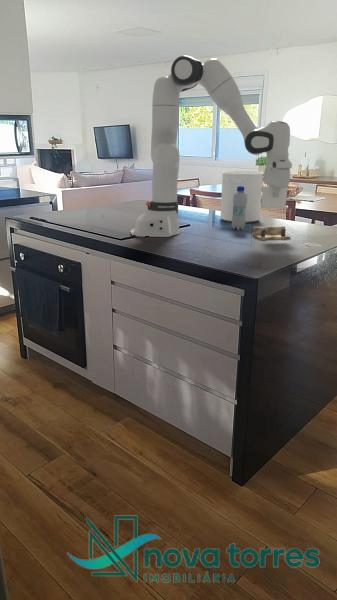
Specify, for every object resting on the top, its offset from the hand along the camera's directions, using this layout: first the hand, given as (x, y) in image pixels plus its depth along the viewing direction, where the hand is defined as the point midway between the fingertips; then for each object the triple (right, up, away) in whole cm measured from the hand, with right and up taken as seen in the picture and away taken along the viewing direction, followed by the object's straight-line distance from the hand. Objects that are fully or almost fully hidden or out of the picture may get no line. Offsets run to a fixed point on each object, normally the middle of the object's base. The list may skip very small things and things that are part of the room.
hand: (274, 196), depth 190 cm
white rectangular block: (0, -4, +2) cm, 5 cm away
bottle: (-12, -10, +22) cm, 27 cm away
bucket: (-7, -2, +46) cm, 46 cm away
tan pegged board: (0, -16, +6) cm, 17 cm away
